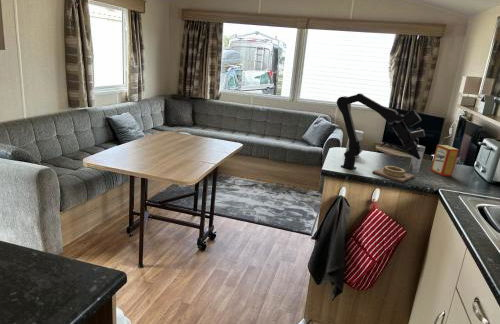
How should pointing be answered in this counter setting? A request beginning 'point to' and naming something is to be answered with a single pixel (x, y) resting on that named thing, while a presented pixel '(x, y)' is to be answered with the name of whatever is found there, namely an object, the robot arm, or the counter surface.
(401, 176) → the ring board
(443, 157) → the baking soda box
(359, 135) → the skincare box
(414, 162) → the piston
